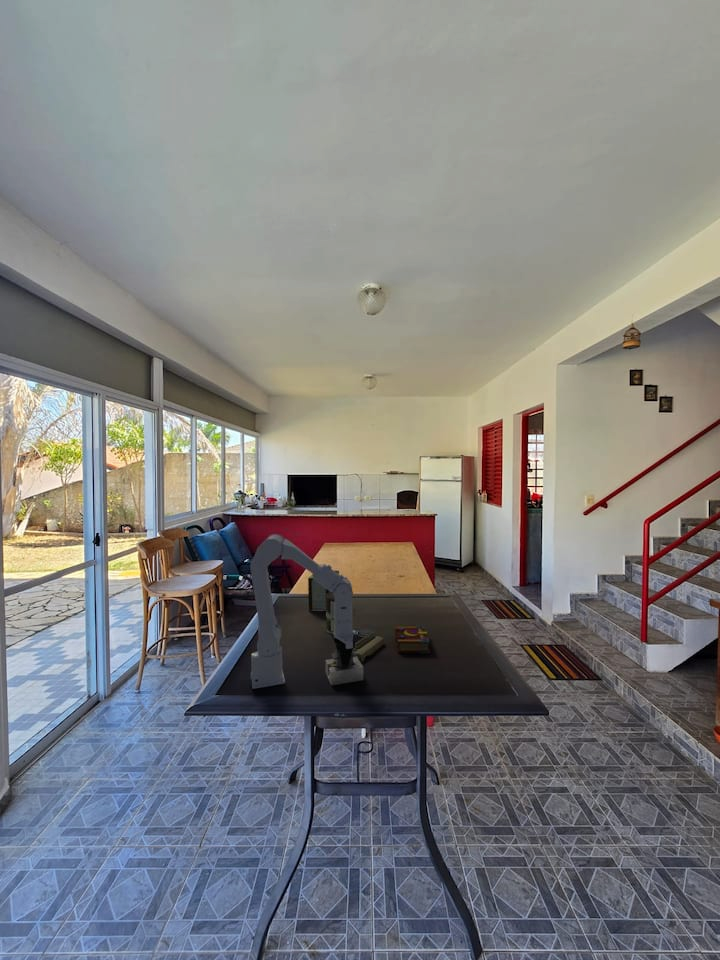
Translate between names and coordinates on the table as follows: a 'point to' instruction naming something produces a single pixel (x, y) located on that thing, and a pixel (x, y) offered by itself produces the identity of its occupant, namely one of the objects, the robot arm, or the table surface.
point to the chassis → (344, 672)
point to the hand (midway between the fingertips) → (343, 662)
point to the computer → (367, 646)
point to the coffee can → (330, 612)
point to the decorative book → (412, 639)
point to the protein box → (317, 594)
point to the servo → (338, 660)
